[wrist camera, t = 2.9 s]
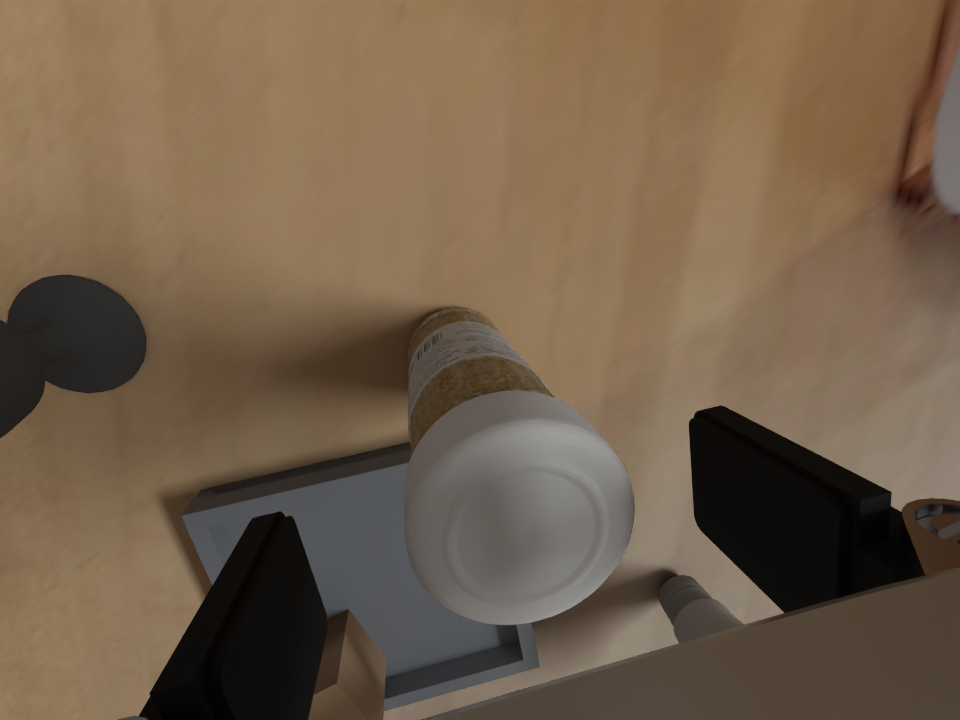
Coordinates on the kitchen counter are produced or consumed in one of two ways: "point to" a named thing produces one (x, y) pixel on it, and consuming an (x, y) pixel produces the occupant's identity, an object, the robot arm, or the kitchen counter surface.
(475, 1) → the kitchen counter surface
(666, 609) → the lightbulb
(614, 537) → the sprinkles bottle
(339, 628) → the walnut block
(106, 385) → the sundae
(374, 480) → the slate tray
